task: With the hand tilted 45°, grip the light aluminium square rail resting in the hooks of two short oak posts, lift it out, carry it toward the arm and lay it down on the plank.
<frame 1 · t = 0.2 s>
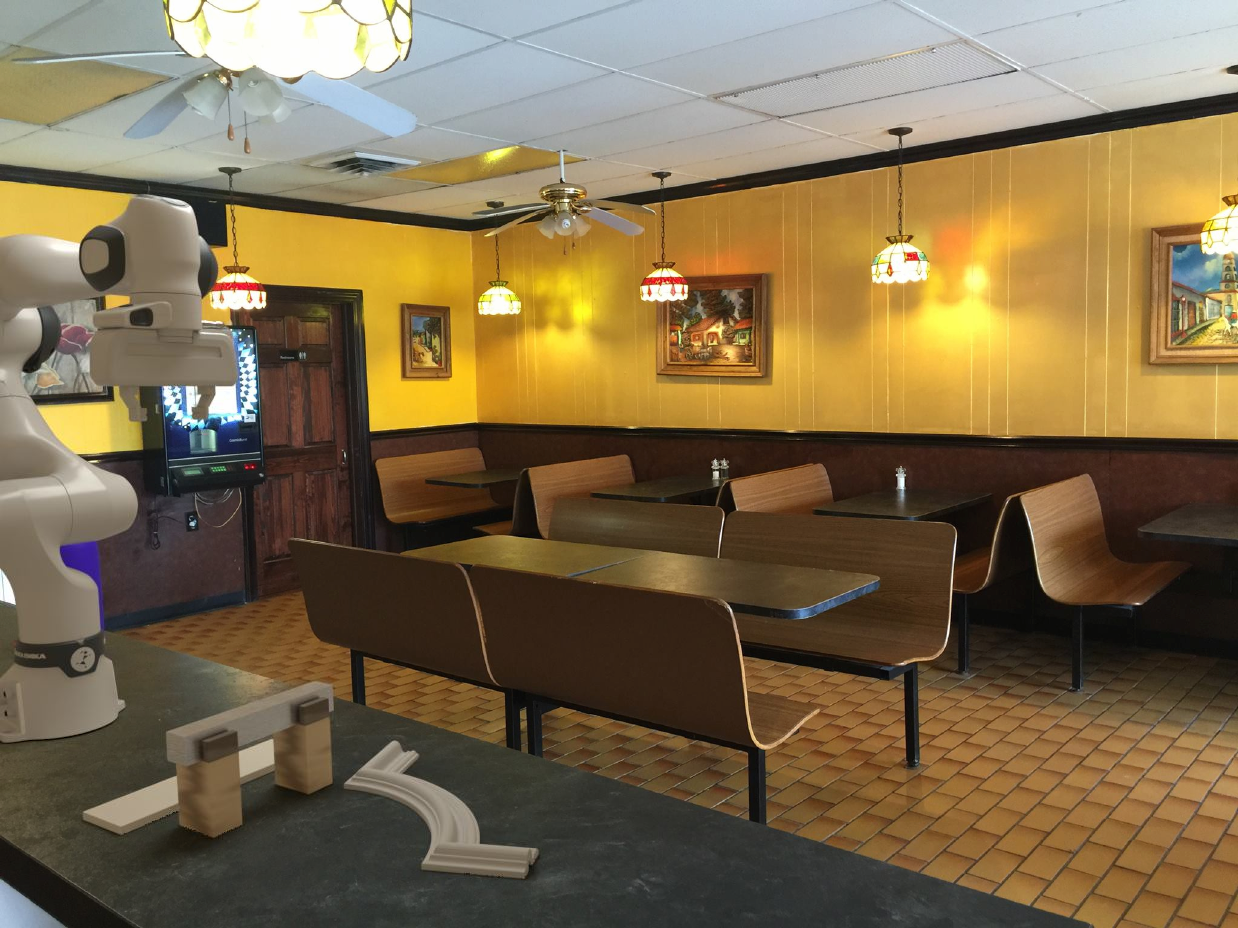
hand: (170, 420, 135), 48 cm above the counter, tool pointing down, fingers open, 8 cm apart
plank: (204, 785, 131), on the counter
molding: (443, 813, 123), on the counter
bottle: (82, 657, 194), on the counter
post far: (303, 783, 131), on the counter
post near: (211, 824, 119), on the counter
rail: (256, 733, 124), point 9 cm above the counter, touching post far, post near
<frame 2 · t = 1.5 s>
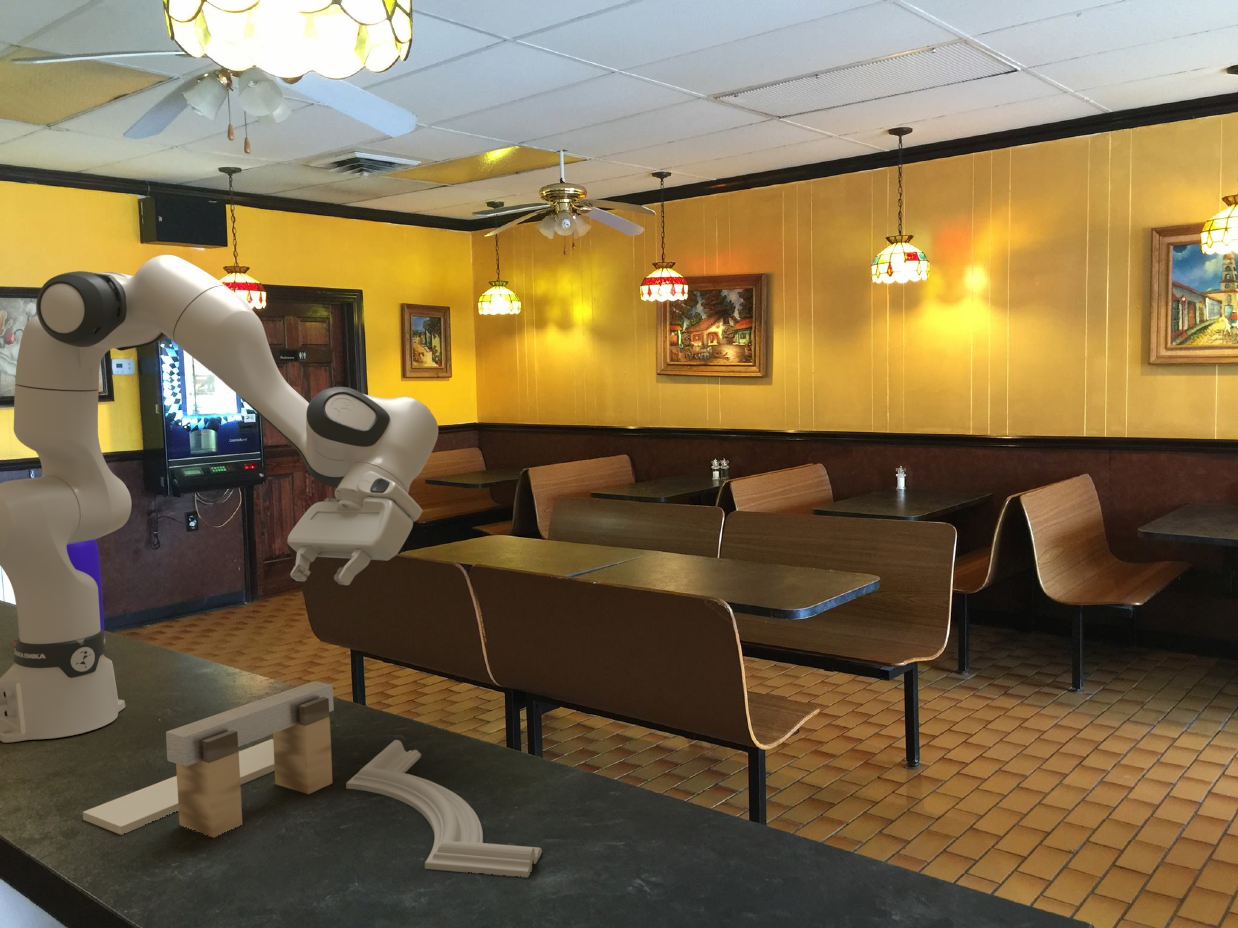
hand: (318, 580, 132), 26 cm above the counter, tool tilted 45°, fingers open, 8 cm apart
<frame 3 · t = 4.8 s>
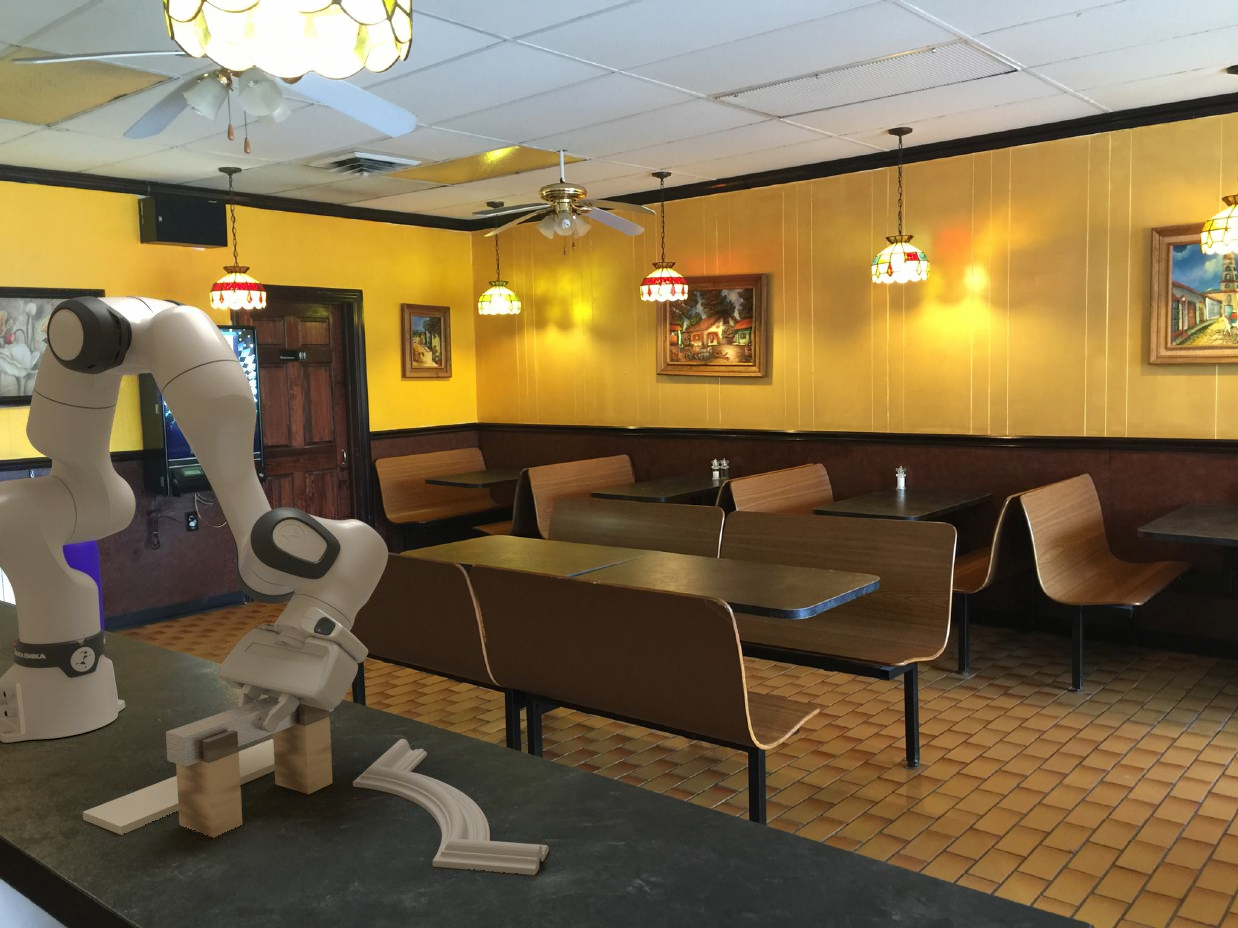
hand: (251, 726, 124), 10 cm above the counter, tool tilted 45°, fingers closed on rail, 3 cm apart
rail: (256, 733, 124), point 9 cm above the counter, touching gripper, post far, post near
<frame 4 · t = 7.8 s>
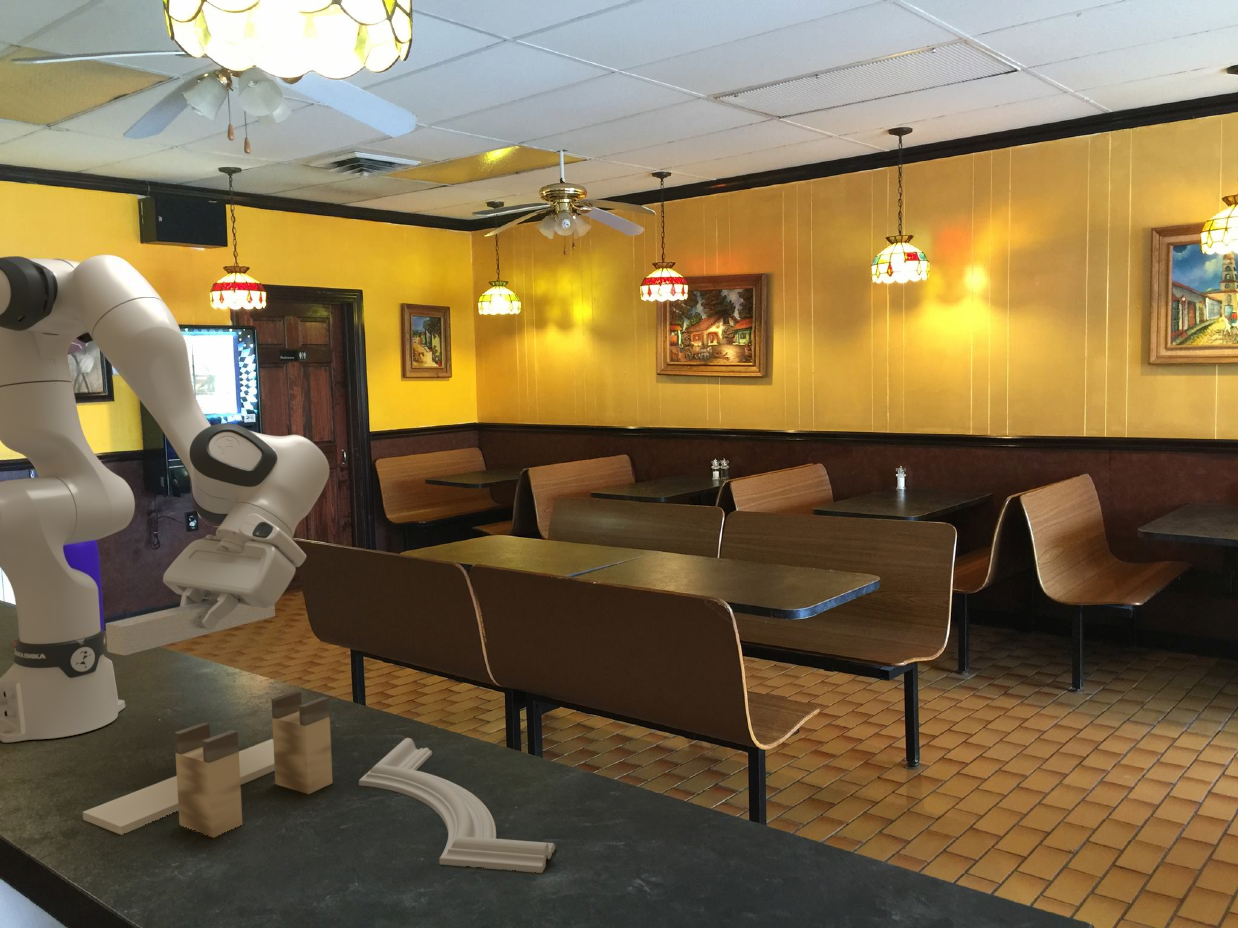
hand: (191, 625, 129), 22 cm above the counter, tool tilted 45°, fingers closed on rail, 3 cm apart
rail: (196, 632, 129), point 21 cm above the counter, touching gripper
when the fingers open (5 cm above the counter, at t = 10.9 s): rail drops 3 cm, resting on plank.
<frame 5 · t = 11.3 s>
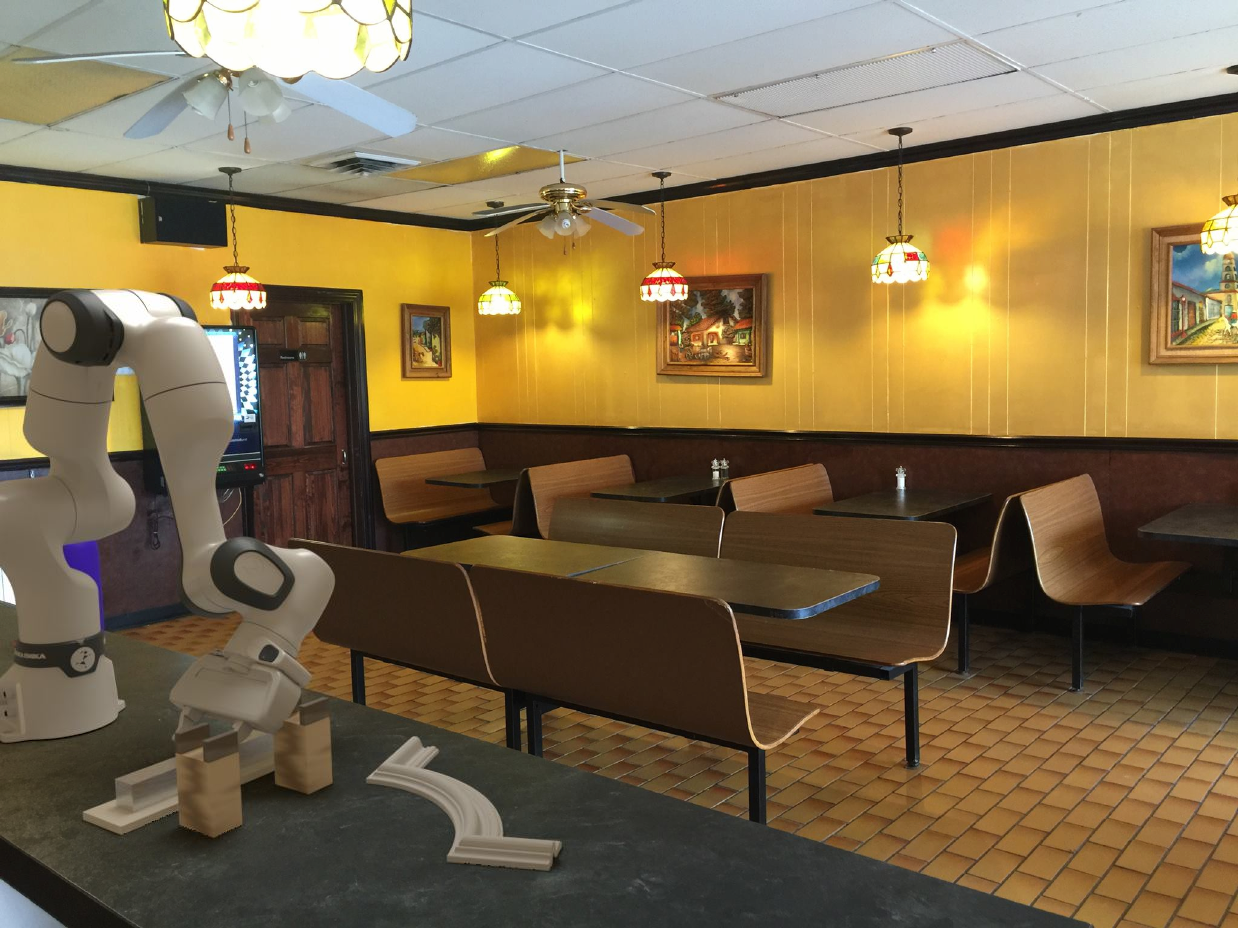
hand: (198, 748, 130), 5 cm above the counter, tool tilted 45°, fingers open, 7 cm apart
rail: (204, 777, 131), point 1 cm above the counter, touching plank
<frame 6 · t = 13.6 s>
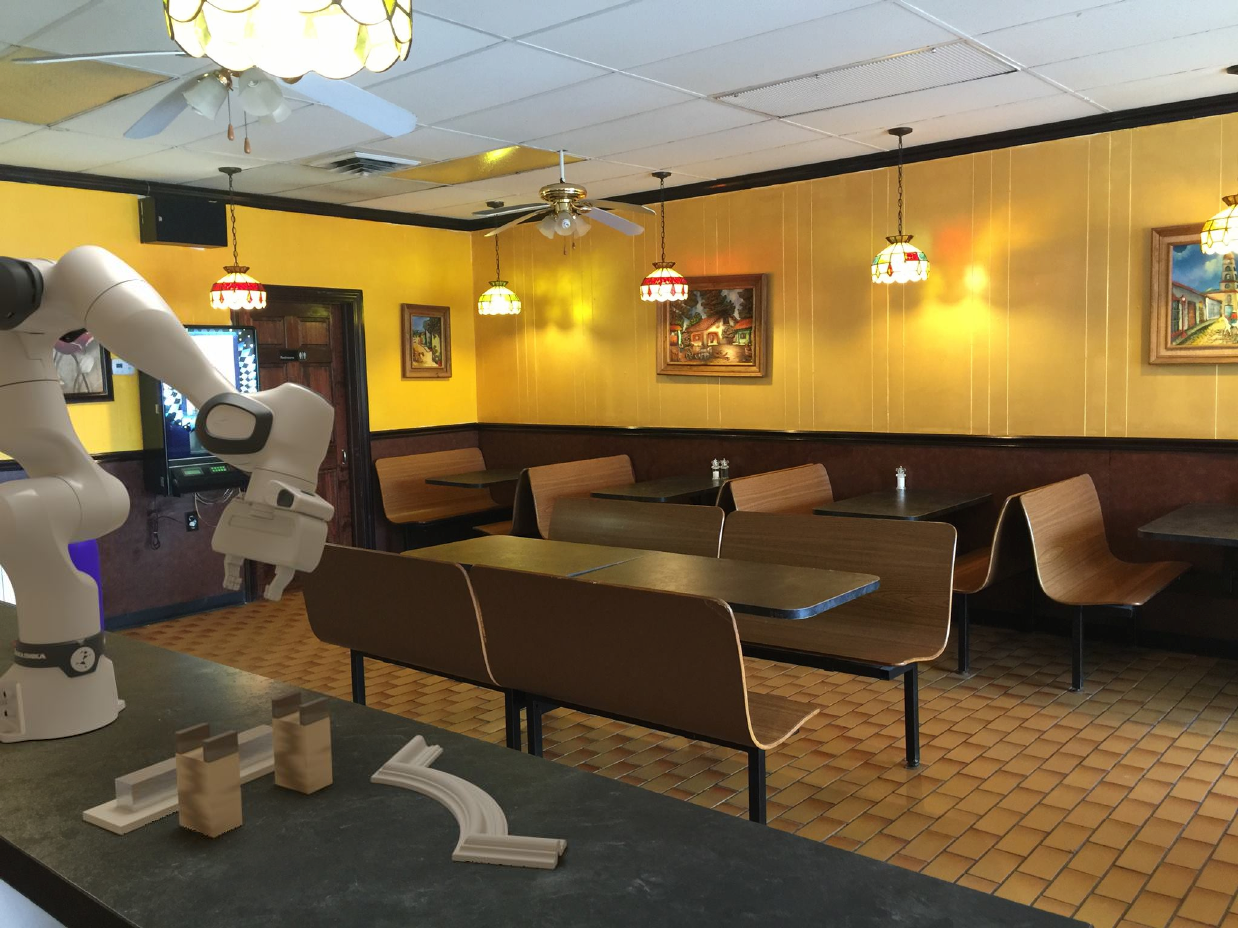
hand: (250, 594, 137), 24 cm above the counter, tool tilted 20°, fingers open, 8 cm apart
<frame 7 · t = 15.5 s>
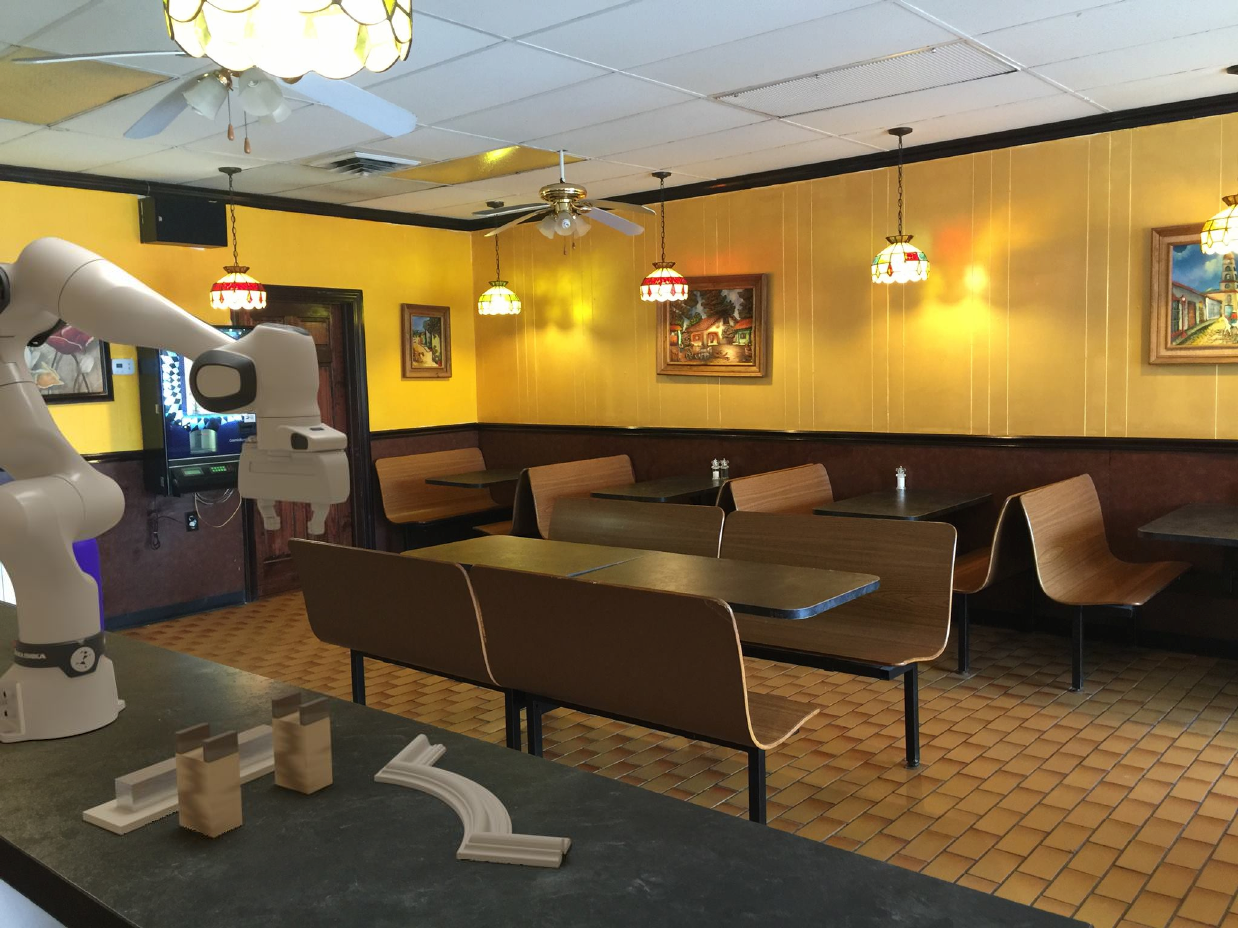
hand: (294, 531, 145), 31 cm above the counter, tool pointing down, fingers open, 8 cm apart
at the end: rail inside the target area (0.1 cm from its centre), point 1.0 cm above the counter; rail point 1.0 cm above the counter; the gripper is holding nothing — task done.
